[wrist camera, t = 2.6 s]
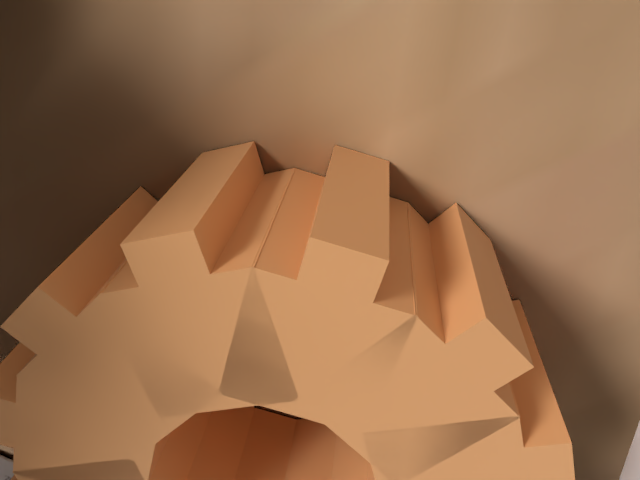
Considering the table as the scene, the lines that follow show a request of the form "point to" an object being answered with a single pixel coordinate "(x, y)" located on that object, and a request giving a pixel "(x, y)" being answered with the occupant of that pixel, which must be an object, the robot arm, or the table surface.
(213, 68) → the table surface
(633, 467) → the robot arm
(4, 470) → the coffee box
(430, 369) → the orange gear
